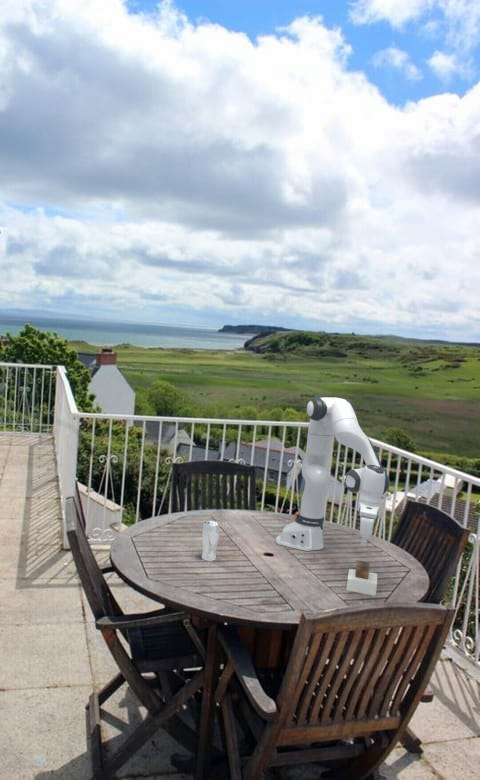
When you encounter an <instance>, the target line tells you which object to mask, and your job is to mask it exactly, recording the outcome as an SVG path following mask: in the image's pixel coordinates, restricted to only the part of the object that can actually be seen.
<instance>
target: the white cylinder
mask: <svg viewBox="0 0 480 780" xmlns="http://www.w3.org/2000/svg"><path fill="white" fill-rule="evenodd" d="M201 533H202V535H201V536H202V553H201V560H203V561H207V562H212V561H215V560H216V558H217V556H216V555H217V553H216V549H217V545H218V541H219V538H220V522H218V521H214V520H206V521H203V527H202V532H201Z"/></svg>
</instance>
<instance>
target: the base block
mask: <svg viewBox="0 0 480 780" xmlns="http://www.w3.org/2000/svg"><path fill="white" fill-rule="evenodd" d="M355 573H356V569H353V568H349V569H348V575H347V581H346V582H347V583H346V591H348V592H353V593H358V594H363V595H367V596H375V597H376V596H377V588H378V573H375V572H370V571H369V577H368V579H363V578H357V577H355Z"/></svg>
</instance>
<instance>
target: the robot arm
mask: <svg viewBox="0 0 480 780" xmlns="http://www.w3.org/2000/svg"><path fill="white" fill-rule="evenodd" d="M355 408H356V407H355V405H354V402H353V401H352V400H350V399H348V398H340V397H335V396H334V397H333V396H332V397H325V396H324V397H319V396H317V397H312V398H310V399H309V400H308V401H307V404H306V415H307V416H308V419H309V423H308V430H307V440H306V450H305V454H304V457H303V462H302V467H301V476H302V478H303V479H304V481H305V482H304V483H305V484H304V489H303V492H302V496H301V498H300V499H301V500H300V510H299V511H296V512H295V514H294V515H295V517H294V521H292V522H290V523H288V524H286V525H285V526H284V527H283V529H282V530H281V534H279V535H277V536H276V539H275V543H276V544H277V545H278V546H283V547H287V548H291V549H296V550H299V551H303V552H311V551H317V550H318V551H319V550H323V549H324V548H325V546H324V545H325V544H324V537H323V536H324V535H323V534H324V533H323V532H324V531H323V529H324V526H325V517H324V516H325V515H324V514H325V507H326V506H325V505H326V501H327V499H326V498H327V495H328V492H329V487H330V485H331V482H332V478H331V477H332V476H331V472H330V471H329V470H328V468H327V463H328V458H329V455H330V453H331V446H332V436H334V437H335V440H336V441H337V442H338V443H340V444H341V445H342V446H345V447H347V448H350V449H352V450H354V451H356V452H358V453H359V454H360V456H362V459H363V460H364V462H365V466H364V467H361V468H352V469H350V470H348V472H347V473H346V476H345V480H344V485H345V487H346V488H347V490H348V491H349V492H350V493H354V494H359V496H358V500H357V502H358V503H357V506H356V507H357V509H356V510H357V511H358V513H359V516H360V519H359V522H360V523H359V536H360V538H361V542H360V546H361V547H366V546H367V541H368V539H370V537H371V534H372V531H373V527H374V523H375V521H376V519H377V518H378V516H380V515H381V511H382V510H381V509H382V505H383V495H385V494H386V492H387V491H388V490H389V488H390V485H391V480H390V477H389V475H388V472H386V470H385V469H384V467H383V465H382V463H381V461H380V458H379V456H378V454H377V451H376V449H375V447H374V445H373V443H372V441H371V439H370V438H369V437H368V436H367V435H366V434H365V432H364V431H363V430H362V428H361V426H360V424H359V422H358V418H357V415H356V409H355Z"/></svg>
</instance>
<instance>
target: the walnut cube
mask: <svg viewBox="0 0 480 780" xmlns="http://www.w3.org/2000/svg"><path fill="white" fill-rule="evenodd" d="M355 565H356V566H355V570H356V573H355V577H357V578H363V579H368V577H369V572H370V567H371V566H370V565H371V563H370V562H369V561H363V560H358V559H357V560H356V564H355Z"/></svg>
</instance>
